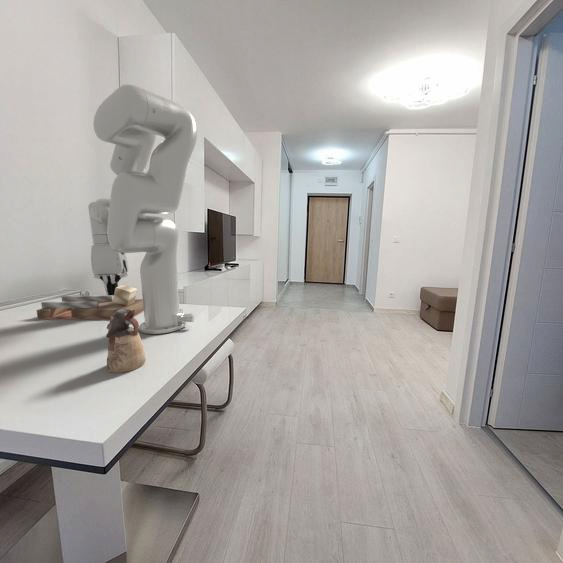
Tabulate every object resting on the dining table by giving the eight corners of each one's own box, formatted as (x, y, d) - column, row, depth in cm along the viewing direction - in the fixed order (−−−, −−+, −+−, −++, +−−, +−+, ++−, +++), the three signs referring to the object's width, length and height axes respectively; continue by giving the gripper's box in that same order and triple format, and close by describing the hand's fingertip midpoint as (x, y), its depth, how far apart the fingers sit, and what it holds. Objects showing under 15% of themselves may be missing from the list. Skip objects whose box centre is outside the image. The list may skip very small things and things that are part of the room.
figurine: (122, 357, 64) (116, 304, 61) (152, 358, 63) (148, 305, 61) (99, 372, 57) (91, 314, 54) (132, 374, 56) (126, 315, 54)
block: (134, 302, 101) (137, 289, 100) (127, 305, 96) (130, 292, 95) (120, 298, 100) (123, 284, 100) (112, 301, 96) (115, 287, 95)
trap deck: (150, 307, 106) (149, 293, 105) (131, 318, 92) (129, 303, 91) (69, 307, 106) (67, 294, 105) (37, 319, 92) (35, 304, 91)
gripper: (134, 239, 98) (140, 291, 101) (91, 241, 98) (98, 293, 101) (122, 239, 91) (129, 296, 94) (75, 241, 91) (84, 297, 94)
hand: (113, 294), depth 97 cm, fingers closed
